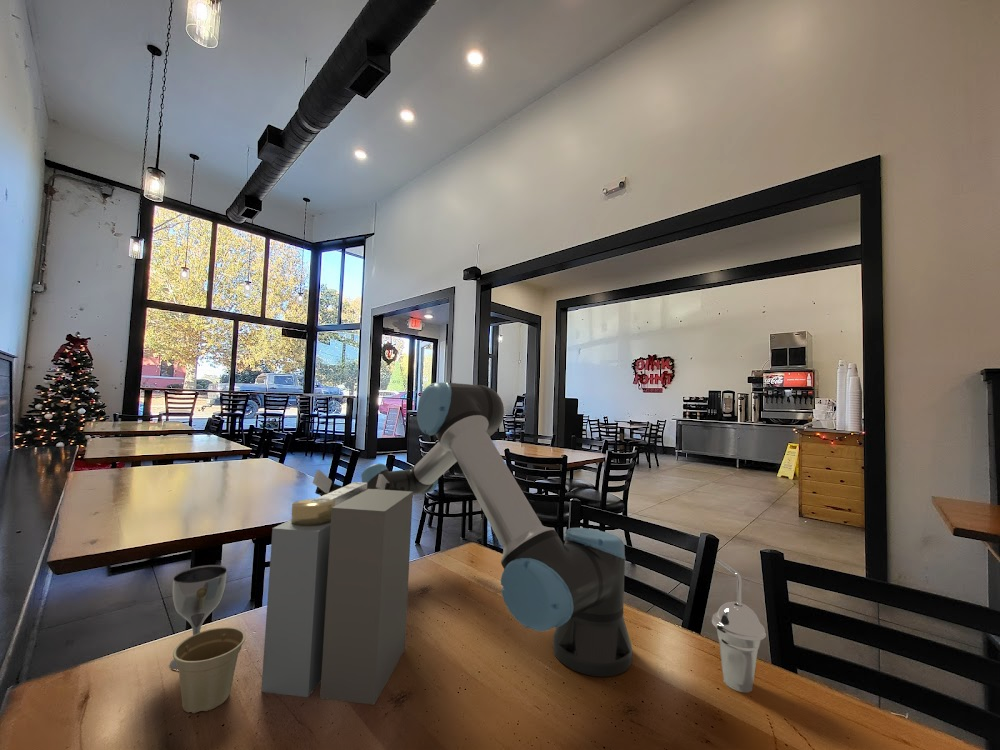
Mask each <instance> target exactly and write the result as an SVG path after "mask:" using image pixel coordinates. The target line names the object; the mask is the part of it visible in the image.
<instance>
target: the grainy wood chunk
mask: <svg viewBox="0 0 1000 750" xmlns="http://www.w3.org/2000/svg"><path fill="white" fill-rule="evenodd" d="M365 490H367V483H362V481H361V482H360V481H359V482H358V481H353V482H351V483H349V484H347V485H345V486H343V487H342V488H340V489H337V490H335V491H333V492H330V493H328V494H326V495H323V496H321V495H320V496H318V497H316V498H308V499H301V500H298V501H295V502H293V503H292V505H291V506H292V507H291V517H290V518H291V519H290V520H291V523H292V524H293V525H297V526H319V525H324V524H328V523H331V512H332V507H334V506H336V505H338V504H340V503H342V502H344V501H346V500H348V499H350V498H352V497H354V496H356V495H358V494H360V493H362V492H364V491H365Z"/></svg>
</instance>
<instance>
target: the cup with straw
mask: <svg viewBox="0 0 1000 750" xmlns="http://www.w3.org/2000/svg"><path fill="white" fill-rule="evenodd" d="M716 562H717V564H720V565H721V566H722V567H724V568H725V569H726V570H728V571H729V572H730V573H732V574H733V575H735V577H736V579H737V580H736V601H728V602H725V603H723V604H722V605H720V607H719V608H718V610H717V611H716V612H715V613H713V614H712V618H711V623H712V625H713V626H714V627H715V628H716V633H717V638H718V643H719V653H720V660H721V661H720V662H721V672H722V675H723V679H722V681H723V683H724V684H725V685H726V686H727V687H728V688H730V689H731V690H734V691H737V692H740V693H750V692H752V691H753V684H754V682H755V672H756V665H757V657H758V650H759V649H760V645H761V641H762V640H764V639H765V638H766V636H767V633H766V629H765V627H764V625H763V624H762V623H761V622H760V619H759V617H758V615H757V613H755V611H754V610H753V609H752V608H750V607H749V606H748V605H746V604H745V603H743V602H742V585H743V584H742V576H741V574H740V573H739V571H737V570H736V569H734V568H733V567H731V566H730V565H729V564H728V563H726V562H725V561H723V560H722V559H721V558H716Z"/></svg>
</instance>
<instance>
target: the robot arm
mask: <svg viewBox="0 0 1000 750" xmlns="http://www.w3.org/2000/svg"><path fill="white" fill-rule="evenodd" d="M416 411H417V412H416V419H417V425H418V427H419V430H420V431H421V432H422V433H423V434H425V435H428V436H436V438H437V440H438V442H437V443H436V444H435V445H434V446H433V447H432V448H431V449H430V450H429V451H428V452H426V454H425V455H424V456H423V457H422V458H421V459H420V460H419V461H418V462H417V463H416V464H415V465H413V467H412V468H410V469H402V470H392V471H391V470H390V471H389V469H388V467H387V465H386V464H383V463H381V462H380V463H379V462H378V463H374V464H371V465H369V466H367V467H366V468H364V469H363V470H362V473H361V476H360V478H361V483H367V489H380V490H396V491H411V492H413V496H416V495H424V494H427V493H431V492H434V491H435V490H436V489H437V486H438V483H439V478H441V477H442V475H443V474H445V473H446V472H447V471H448V470H450V468H451V467H452V466H453V465H455V464H456V463H457V464H458V465H459V467H460V470H461V471H462V473H463V475H464V477H465V479H466V480H467V483H468V485H469V486H470V489H471V490H472V492H473V494H474V496H475V498H476V500H477V502H478V503H479V505H480V507H481V510H482V511H483V513H484V516H485V517H486V519H487V521H488V523H489V525H490V527H491V529H492V530H493V532H494V534H495V536H496V538H497V540H498V542H499V544H500V546H501V548H502V549H503V551H502V556H501V560H500V565H502V568H503V572H502V574H501V577H500V578H501V579H500V585H501V586H502V588H501V591H500V592H501V596H502V598H503V601H504V604H505V606H506V607H507V609H508V611H509V613H510V614H511V615H512V617H513V618H514V619H515V620H516V621H517V622H518V623H519V624H521V625H522V626H523V627H525V628H528V629H531V630H532V631H535V632H547V631H550V630H553V629H554V630H553V631H554V632H553V634H552V635H553V636H552V637H553V638H552V650H553V653H554V656H555V657H556V659H558V661H559V662H561V663H562V664H563V665H564V666H565V667H568V668H569V669H571V670H573V671H575V672H577V673H580V674H583V675H587V676H591V677H592V676H593V677H598V678H599V677H603V678H604V677H606V678H607V677H613V676H619V675H621V674H623V673H625V672H626V671H627V670H629V669H630V667H631V665H632V663H633V647H632V645H633V644H632V642H631V639H630V634H629V632H628V628H627V624H626V621H625V618H624V606H625V605H624V601H625V600H624V599H625V597H624V596H625V573H626V572H625V568H626V567H625V566H626V565H625V564H626V559H627V558H626V556H625V554H626V553H625V543H624V541H623V540H622V539H621V538H620V537H619V536H617V535H615V534H613V533H610V532H606V531H603V530H598V529H592V528H586V527H569V528H568V529H566V530H565V534H564V537H563V538H564V542H563V541H562V539H561V538H560V536H559V534H558V533H557V531H556V529H554V528H553V527H550V526H549V527H548V526H544V525H543V524H542V521H541V520H540V519H539V517H538V515H537V514H536V512H535V510H534V509H533V507H532V505H531V503H530V502H529V500H528V499H527V497H526V495H525V494H524V492H523V490H522V489H521V487H520V485H519V484H518V482H517V480H516V479H515V477H514V475H513V473H512V472H511V470H510V468H509V467H508V465H507V464H506V462H505V460H504V458H503V457H502V454H500V451H499V449H497V446H496V445H495V443H494V441H493V440H492V439H491V436H492V435H494V434H495V433H496V431H497V430H498V429H499V428H500V426H501V425H502V422H503V420H504V415H505V406H504V403H503V401H502V398H501V397H500V395H499V394H498V392H496V391H495V390H494V389H492V388H491V387H489V386H487V385H483V384H482V385H481V384H467V383H457V382H455V383H454V382H447V381H443V382H433V383H430V384H428V385H427V386H426V387H425V388H424V390H423V391H422V392H421V394H420V397H419V399H418V403H417V409H416ZM312 484H313V485H314V486H316V488H315V492H314V493H315V494H316V495H318V496H320V497H321V496H323V495H326V494H328V493H330V492H333V491H335V490H337V489H340V488H342V487H344V486H343V485H339V484H338V483H337V484H336V483H333V481H332V479H331V478H329V477H328V476H327V475H326V474H325V473H324V472H322V471H321V470H318V469H317V470H316V471H315V474H314V477H313V480H312Z"/></svg>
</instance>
